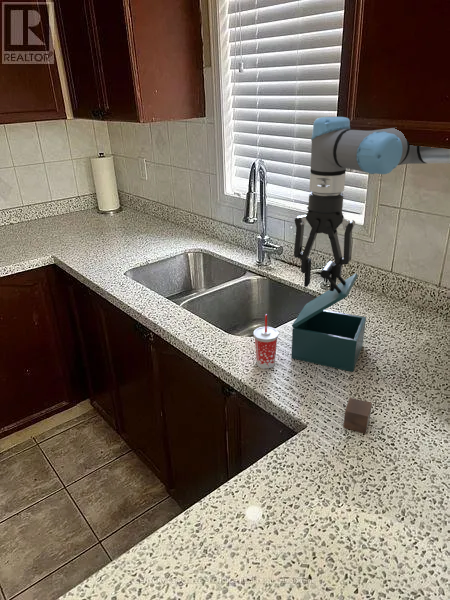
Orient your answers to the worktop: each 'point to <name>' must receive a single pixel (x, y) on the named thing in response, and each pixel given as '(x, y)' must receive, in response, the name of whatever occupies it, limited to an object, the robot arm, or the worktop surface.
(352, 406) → the block
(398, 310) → the worktop surface
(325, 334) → the teal hinged box
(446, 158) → the robot arm
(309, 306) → the lid
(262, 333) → the beverage cup
